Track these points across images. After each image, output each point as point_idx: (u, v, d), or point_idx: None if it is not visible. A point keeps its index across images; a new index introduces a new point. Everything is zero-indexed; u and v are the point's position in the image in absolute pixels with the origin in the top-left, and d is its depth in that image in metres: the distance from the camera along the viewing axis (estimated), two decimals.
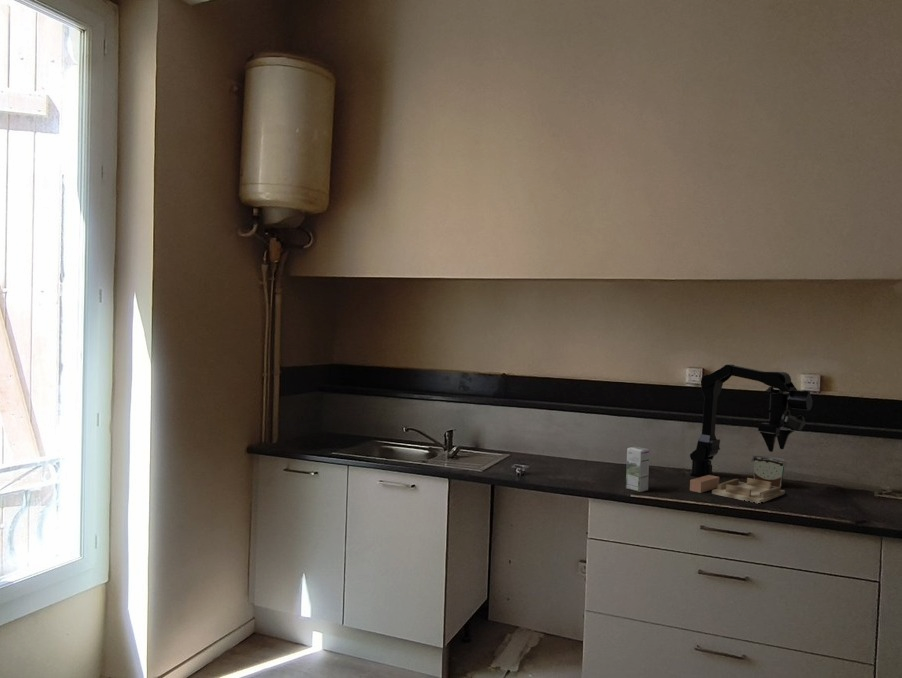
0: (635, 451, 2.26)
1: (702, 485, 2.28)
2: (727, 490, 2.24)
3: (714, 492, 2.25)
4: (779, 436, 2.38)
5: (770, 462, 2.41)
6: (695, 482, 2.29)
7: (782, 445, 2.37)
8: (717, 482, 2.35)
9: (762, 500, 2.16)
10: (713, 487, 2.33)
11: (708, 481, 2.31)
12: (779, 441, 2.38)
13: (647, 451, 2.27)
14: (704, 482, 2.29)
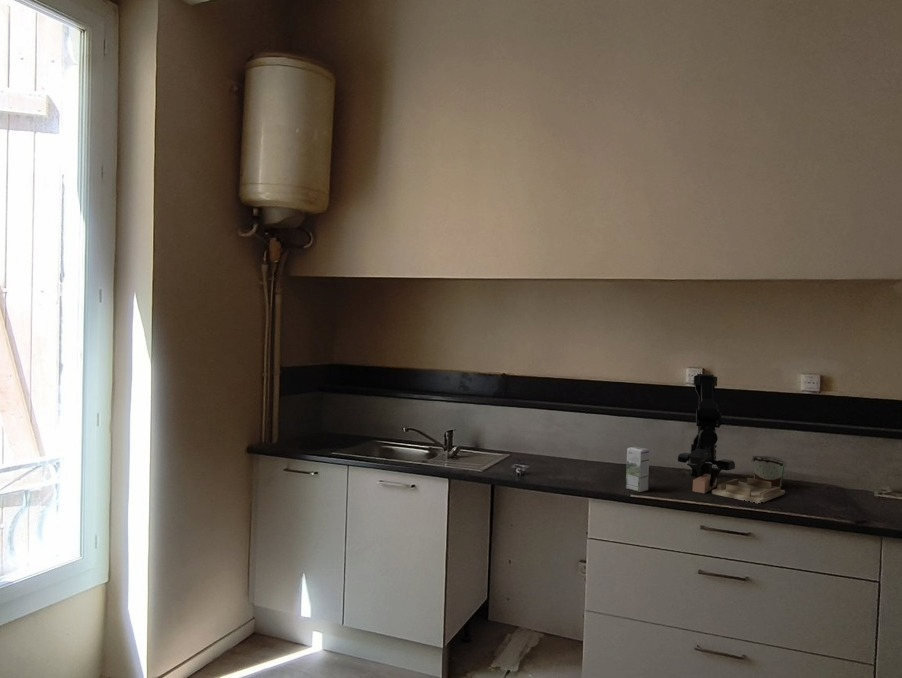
0: (635, 451, 2.26)
1: (705, 484, 2.27)
2: (727, 490, 2.24)
3: (714, 492, 2.25)
4: None
5: (770, 462, 2.41)
6: (698, 482, 2.28)
7: None
8: (715, 481, 2.36)
9: (762, 500, 2.16)
10: (712, 486, 2.34)
11: (709, 480, 2.31)
12: None
13: (647, 451, 2.27)
14: (707, 482, 2.28)
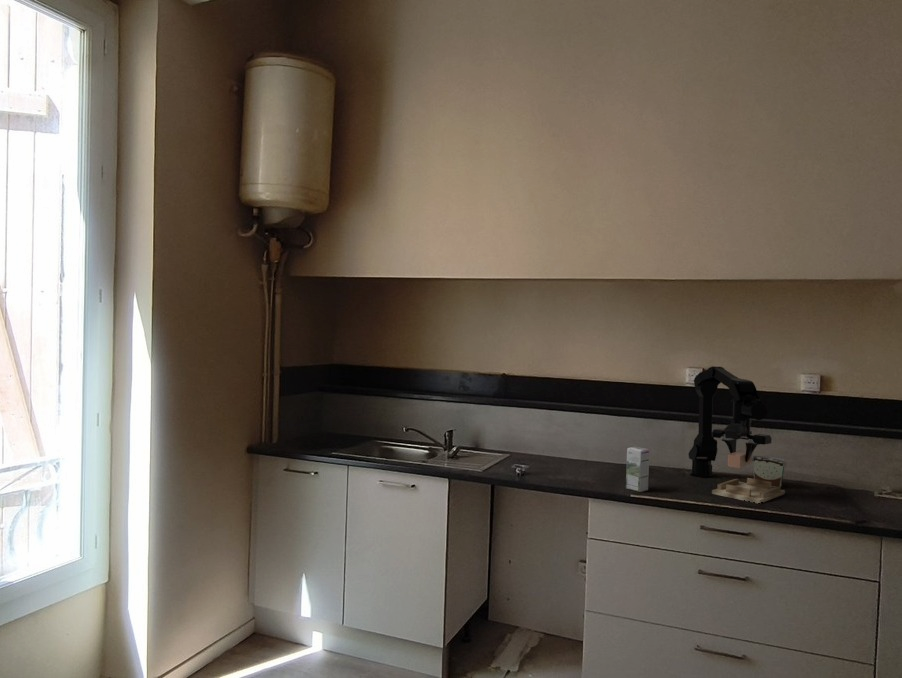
0: (635, 451, 2.26)
1: (741, 459, 2.23)
2: (727, 490, 2.24)
3: (714, 492, 2.25)
4: None
5: (770, 462, 2.41)
6: (733, 456, 2.23)
7: None
8: (750, 457, 2.31)
9: (762, 500, 2.16)
10: (748, 462, 2.29)
11: (745, 455, 2.26)
12: None
13: (647, 451, 2.27)
14: (742, 456, 2.24)
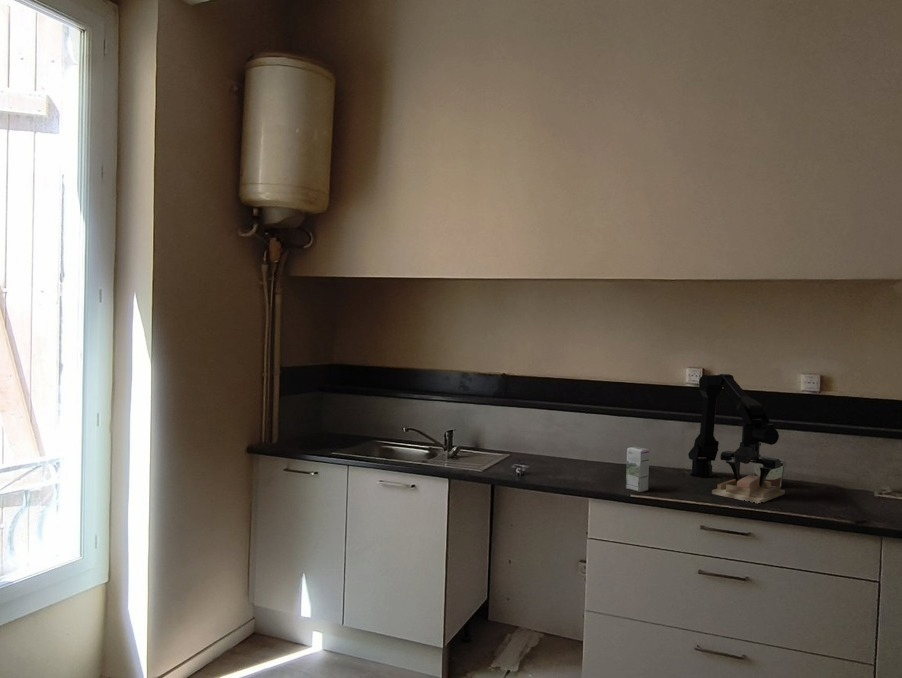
0: (635, 451, 2.26)
1: (750, 486, 2.22)
2: (727, 490, 2.24)
3: (714, 492, 2.25)
4: None
5: None
6: (742, 483, 2.22)
7: None
8: None
9: (762, 500, 2.16)
10: (756, 487, 2.29)
11: (753, 482, 2.25)
12: None
13: (647, 451, 2.27)
14: (751, 483, 2.23)
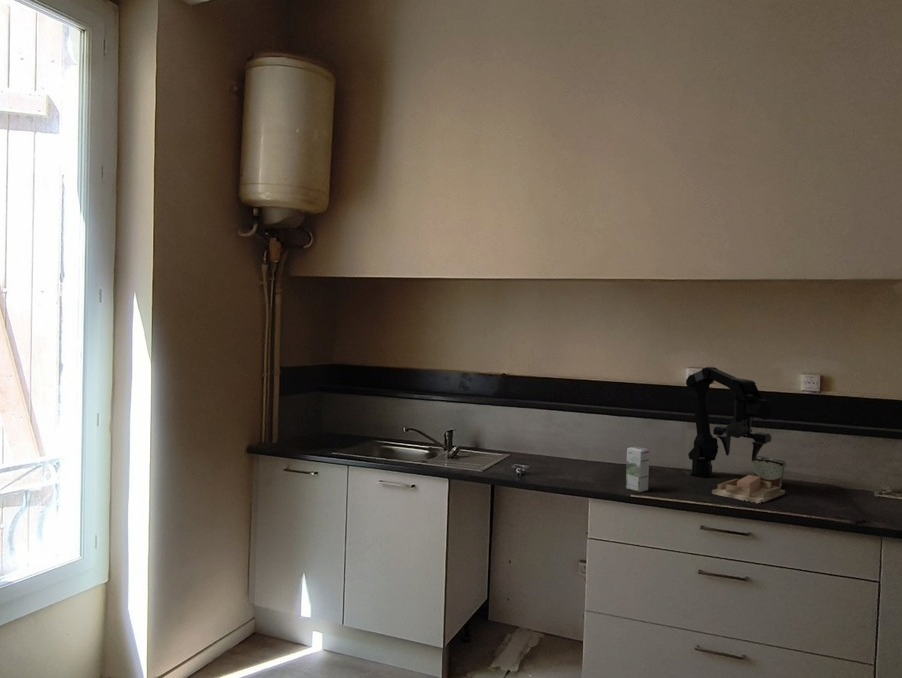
0: (635, 451, 2.26)
1: (750, 486, 2.22)
2: (727, 490, 2.24)
3: (714, 492, 2.25)
4: None
5: (770, 462, 2.41)
6: (742, 483, 2.22)
7: None
8: (759, 482, 2.31)
9: (762, 500, 2.16)
10: (756, 487, 2.29)
11: (753, 482, 2.25)
12: None
13: (647, 451, 2.27)
14: (751, 483, 2.23)
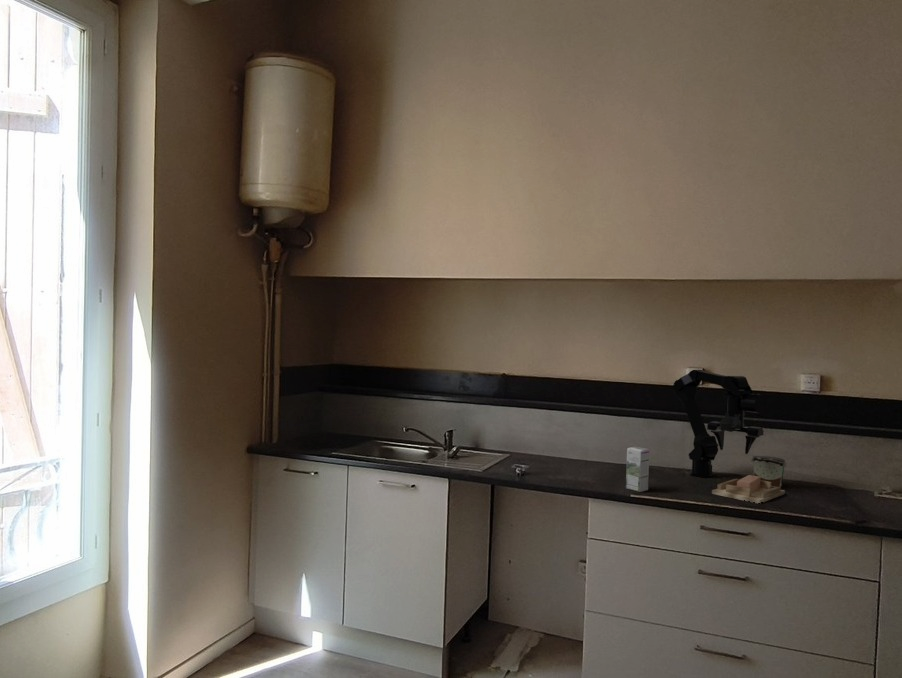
0: (635, 451, 2.26)
1: (750, 486, 2.22)
2: (727, 490, 2.24)
3: (714, 492, 2.25)
4: None
5: (770, 462, 2.41)
6: (742, 483, 2.22)
7: None
8: (759, 482, 2.31)
9: (762, 500, 2.16)
10: (756, 487, 2.29)
11: (753, 482, 2.25)
12: None
13: (647, 451, 2.27)
14: (751, 483, 2.23)
